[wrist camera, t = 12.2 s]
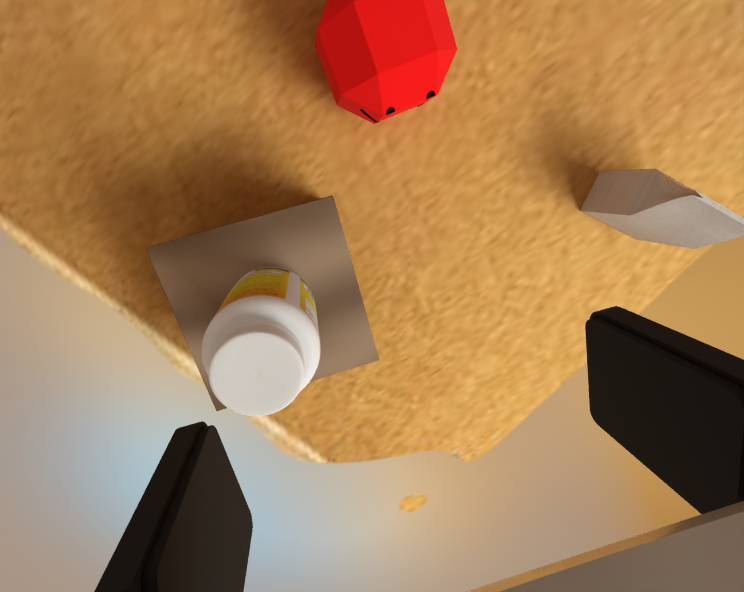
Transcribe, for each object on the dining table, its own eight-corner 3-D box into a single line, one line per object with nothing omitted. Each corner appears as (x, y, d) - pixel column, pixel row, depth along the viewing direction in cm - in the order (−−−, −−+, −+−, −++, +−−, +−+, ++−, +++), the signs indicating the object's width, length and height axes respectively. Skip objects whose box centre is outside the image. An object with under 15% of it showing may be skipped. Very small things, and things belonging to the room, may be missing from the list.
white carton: (635, 239, 38) (747, 257, 29) (579, 210, 36) (678, 220, 27) (656, 202, 37) (777, 208, 28) (599, 171, 36) (708, 166, 26)
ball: (345, 137, 32) (358, 123, 24) (302, 25, 29) (303, -28, 22) (439, 99, 32) (479, 74, 25) (405, -14, 30) (438, -79, 22)
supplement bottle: (211, 313, 26) (158, 389, 17) (264, 247, 26) (240, 285, 16) (281, 360, 28) (270, 455, 18) (332, 299, 27) (349, 362, 18)
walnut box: (178, 234, 31) (145, 248, 25) (326, 193, 32) (332, 195, 26) (233, 367, 35) (216, 411, 28) (364, 327, 36) (379, 359, 29)
